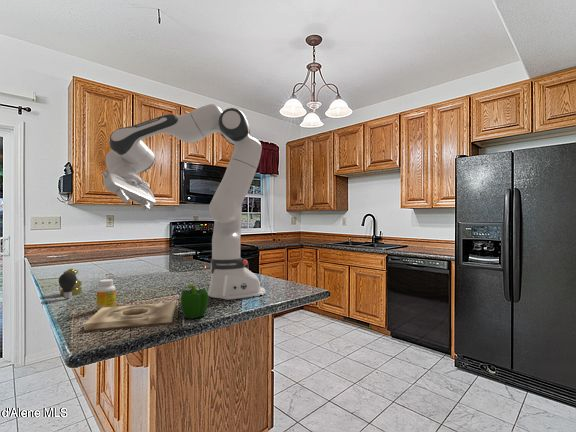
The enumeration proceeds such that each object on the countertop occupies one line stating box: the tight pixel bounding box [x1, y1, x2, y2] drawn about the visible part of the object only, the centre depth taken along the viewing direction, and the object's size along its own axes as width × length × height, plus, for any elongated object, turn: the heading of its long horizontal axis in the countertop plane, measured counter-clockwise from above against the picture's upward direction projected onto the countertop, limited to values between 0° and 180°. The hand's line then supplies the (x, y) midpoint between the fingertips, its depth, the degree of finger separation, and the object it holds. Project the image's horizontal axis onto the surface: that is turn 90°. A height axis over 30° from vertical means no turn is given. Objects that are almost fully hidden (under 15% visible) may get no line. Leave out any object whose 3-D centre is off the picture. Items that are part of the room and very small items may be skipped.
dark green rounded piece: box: [59, 268, 83, 297], centre depth 127 cm, size 7×7×10 cm
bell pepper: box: [180, 284, 210, 320], centre depth 97 cm, size 8×8×10 cm
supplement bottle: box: [96, 278, 117, 312], centre depth 104 cm, size 5×5×10 cm
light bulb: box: [58, 272, 78, 300], centre depth 119 cm, size 6×6×10 cm
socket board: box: [83, 301, 177, 332], centre depth 95 cm, size 22×16×2 cm
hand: (137, 205), depth 113 cm, fingers open, 8 cm apart
